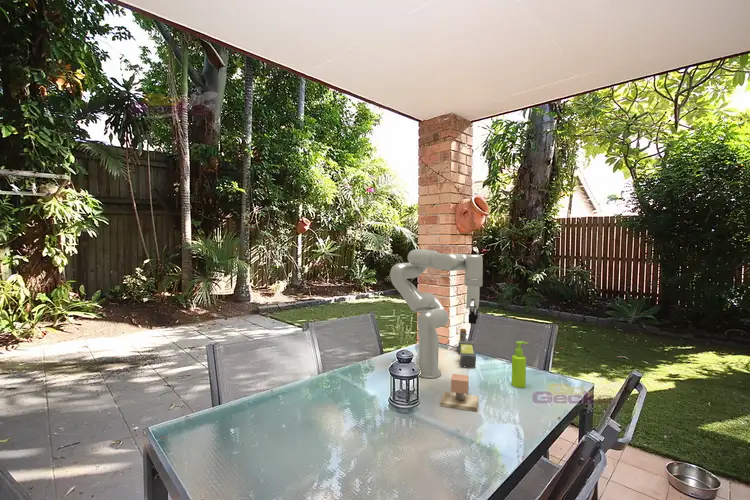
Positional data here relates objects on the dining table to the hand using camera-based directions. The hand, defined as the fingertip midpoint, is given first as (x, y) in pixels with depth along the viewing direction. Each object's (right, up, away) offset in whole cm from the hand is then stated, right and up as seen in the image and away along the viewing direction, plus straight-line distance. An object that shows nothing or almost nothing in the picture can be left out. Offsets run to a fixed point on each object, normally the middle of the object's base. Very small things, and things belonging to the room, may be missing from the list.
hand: (473, 321), depth 157 cm
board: (-9, -30, -13) cm, 34 cm away
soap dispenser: (+23, -31, +5) cm, 38 cm away
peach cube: (-9, -25, -13) cm, 30 cm away
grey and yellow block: (+7, -30, +43) cm, 53 cm away
